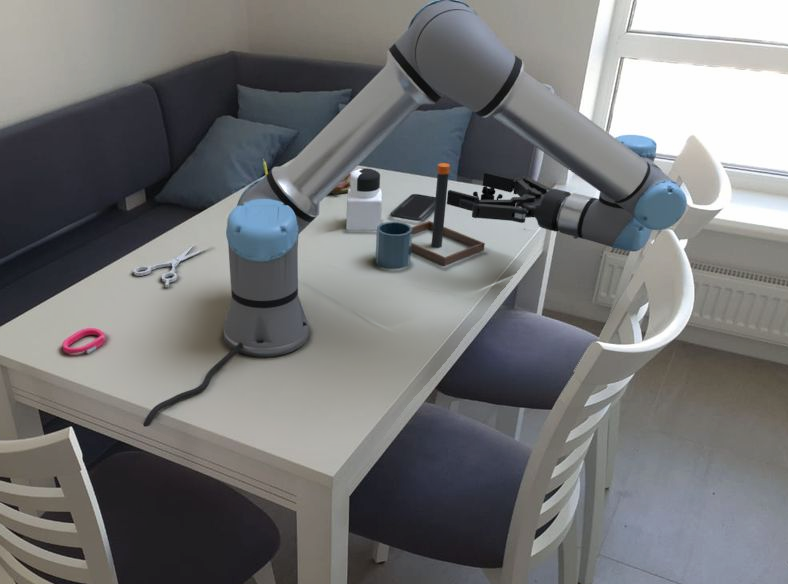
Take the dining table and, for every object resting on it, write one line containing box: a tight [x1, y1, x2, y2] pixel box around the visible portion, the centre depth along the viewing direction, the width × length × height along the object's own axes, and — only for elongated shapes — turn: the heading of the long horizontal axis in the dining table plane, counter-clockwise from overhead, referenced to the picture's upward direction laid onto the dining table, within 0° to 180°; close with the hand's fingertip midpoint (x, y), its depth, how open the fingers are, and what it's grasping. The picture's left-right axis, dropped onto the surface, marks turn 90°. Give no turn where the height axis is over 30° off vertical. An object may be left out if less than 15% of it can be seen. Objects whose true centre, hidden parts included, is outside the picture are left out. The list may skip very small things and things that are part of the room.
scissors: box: [133, 244, 210, 288], centre depth 169 cm, size 11×1×20 cm
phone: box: [390, 193, 436, 223], centre depth 191 cm, size 8×1×15 cm
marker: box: [430, 162, 451, 249], centre depth 168 cm, size 2×2×18 cm
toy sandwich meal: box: [329, 173, 351, 194], centre depth 205 cm, size 12×14×5 cm
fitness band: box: [62, 327, 107, 355], centre depth 142 cm, size 8×6×2 cm
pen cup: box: [375, 221, 413, 269], centre depth 165 cm, size 7×7×8 cm
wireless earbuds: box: [472, 186, 504, 200], centre depth 192 cm, size 7×2×5 cm, turn 70°
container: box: [345, 167, 383, 231], centre depth 181 cm, size 8×8×13 cm
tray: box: [411, 220, 486, 267], centre depth 173 cm, size 12×16×2 cm
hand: (466, 187), depth 161 cm, fingers open, 13 cm apart
